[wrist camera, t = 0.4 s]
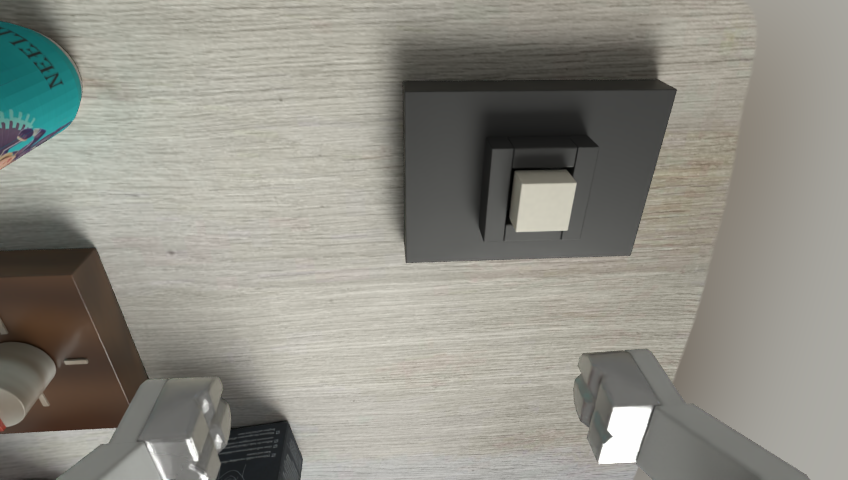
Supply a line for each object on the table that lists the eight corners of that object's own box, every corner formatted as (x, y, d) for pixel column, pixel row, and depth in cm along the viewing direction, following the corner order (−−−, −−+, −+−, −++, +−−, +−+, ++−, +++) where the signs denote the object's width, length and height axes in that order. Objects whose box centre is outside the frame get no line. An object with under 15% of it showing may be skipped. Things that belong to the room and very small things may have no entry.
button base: (402, 80, 28) (405, 101, 25) (658, 79, 29) (695, 98, 26) (404, 244, 34) (407, 279, 30) (617, 238, 35) (643, 271, 32)
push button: (514, 170, 28) (521, 183, 26) (566, 169, 28) (577, 182, 26) (508, 217, 29) (515, 232, 28) (558, 215, 29) (568, 231, 28)
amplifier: (-86, 252, 31) (-129, 282, 29) (96, 247, 32) (70, 276, 30) (9, 402, 39) (-18, 437, 36) (155, 395, 40) (139, 428, 37)
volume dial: (-23, 342, 32) (-69, 389, 28) (42, 339, 32) (5, 385, 29) (4, 386, 34) (-36, 433, 31) (65, 383, 34) (32, 430, 31)
